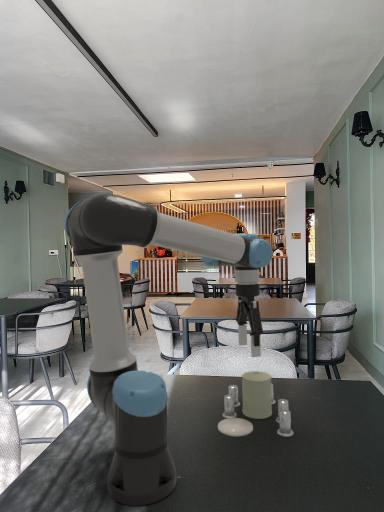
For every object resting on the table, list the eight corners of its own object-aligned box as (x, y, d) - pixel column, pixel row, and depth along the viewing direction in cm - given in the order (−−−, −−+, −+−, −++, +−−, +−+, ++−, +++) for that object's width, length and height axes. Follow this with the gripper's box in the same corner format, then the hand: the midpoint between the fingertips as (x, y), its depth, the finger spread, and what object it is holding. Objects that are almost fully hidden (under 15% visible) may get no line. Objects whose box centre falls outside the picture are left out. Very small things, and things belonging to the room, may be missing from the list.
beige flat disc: (257, 435, 104) (257, 432, 104) (221, 437, 103) (221, 435, 103) (247, 418, 114) (247, 416, 114) (215, 421, 113) (215, 419, 113)
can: (270, 406, 123) (269, 369, 122) (273, 419, 113) (273, 379, 113) (241, 405, 123) (241, 369, 123) (242, 418, 114) (242, 379, 114)
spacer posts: (302, 435, 103) (302, 413, 103) (233, 441, 101) (232, 418, 101) (273, 398, 128) (272, 381, 128) (216, 402, 126) (216, 384, 126)
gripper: (273, 286, 106) (275, 361, 107) (247, 279, 131) (248, 340, 132) (247, 287, 105) (249, 363, 106) (226, 280, 130) (227, 341, 131)
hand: (249, 350), depth 119 cm, fingers open, 13 cm apart
